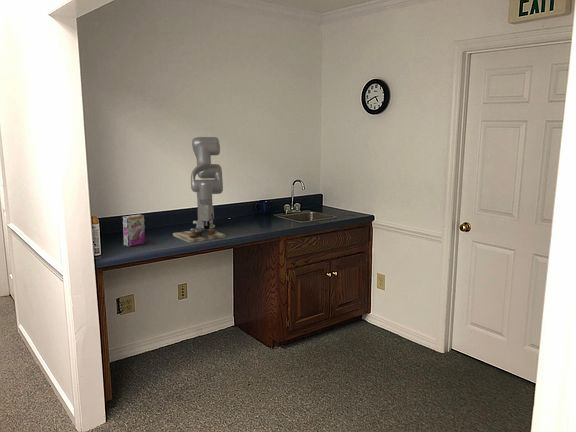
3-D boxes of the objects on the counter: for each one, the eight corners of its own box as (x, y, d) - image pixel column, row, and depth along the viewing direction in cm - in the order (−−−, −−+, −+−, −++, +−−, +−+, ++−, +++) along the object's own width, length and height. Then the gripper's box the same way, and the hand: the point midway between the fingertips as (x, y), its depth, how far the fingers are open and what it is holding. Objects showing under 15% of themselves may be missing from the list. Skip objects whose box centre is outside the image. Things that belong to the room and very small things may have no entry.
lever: (192, 238, 286) (192, 230, 285) (188, 236, 289) (187, 229, 288) (215, 233, 299) (215, 225, 298) (210, 232, 302) (210, 224, 301)
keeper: (202, 238, 287) (202, 230, 286) (195, 235, 294) (195, 227, 293) (207, 237, 289) (207, 229, 289) (201, 234, 296) (200, 227, 295)
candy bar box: (128, 247, 272) (127, 217, 269) (123, 245, 275) (121, 216, 272) (146, 243, 280) (144, 215, 277) (140, 242, 283) (139, 214, 280)
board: (189, 242, 282) (189, 240, 282) (172, 235, 300) (172, 233, 300) (226, 237, 297) (226, 234, 296) (208, 230, 314) (208, 228, 314)
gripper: (193, 201, 300) (194, 230, 304) (209, 204, 290) (210, 234, 294) (203, 199, 306) (203, 228, 309) (219, 202, 296) (219, 232, 300)
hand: (206, 231), depth 302 cm, fingers closed
